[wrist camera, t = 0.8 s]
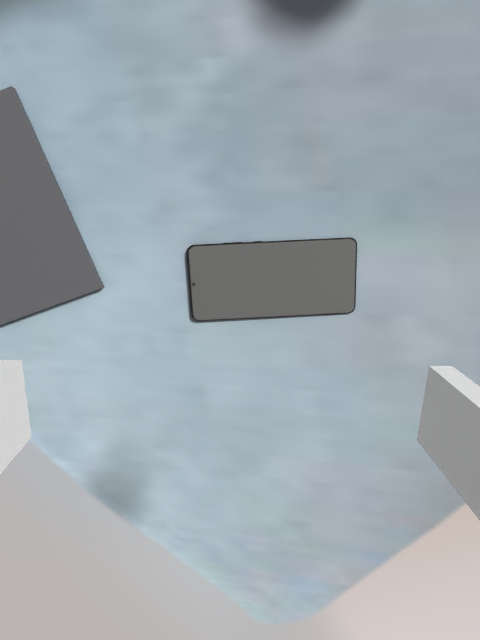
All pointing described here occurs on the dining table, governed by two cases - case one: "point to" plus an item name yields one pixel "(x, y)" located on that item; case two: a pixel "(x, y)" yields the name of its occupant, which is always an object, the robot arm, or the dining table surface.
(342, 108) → the dining table surface
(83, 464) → the dining table surface
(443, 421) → the robot arm
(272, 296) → the smartphone
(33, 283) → the mat
